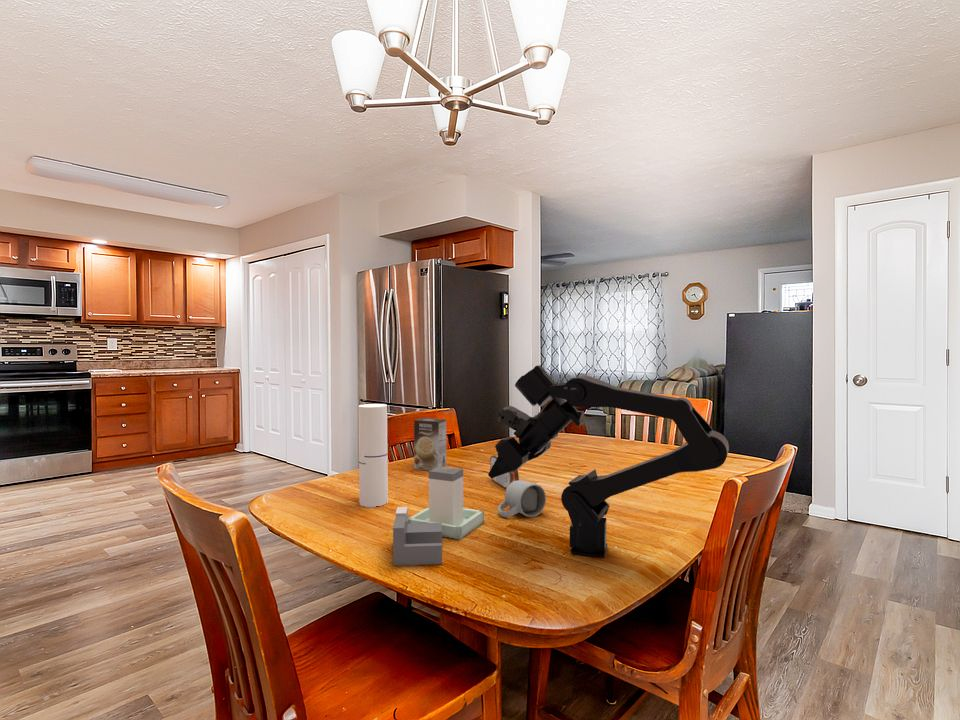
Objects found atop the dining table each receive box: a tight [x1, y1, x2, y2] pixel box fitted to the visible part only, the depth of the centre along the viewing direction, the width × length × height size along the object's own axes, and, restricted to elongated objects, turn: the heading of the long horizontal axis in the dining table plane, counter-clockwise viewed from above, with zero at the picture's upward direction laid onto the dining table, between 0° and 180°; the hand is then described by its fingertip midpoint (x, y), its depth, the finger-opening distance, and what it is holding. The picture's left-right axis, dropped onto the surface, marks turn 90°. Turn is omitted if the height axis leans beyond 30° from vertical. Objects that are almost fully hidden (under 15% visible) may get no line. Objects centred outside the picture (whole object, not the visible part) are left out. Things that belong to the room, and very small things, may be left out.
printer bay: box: [392, 506, 443, 567], centre depth 104 cm, size 9×12×7 cm
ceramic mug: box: [497, 479, 547, 518], centre depth 128 cm, size 11×8×8 cm
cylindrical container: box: [357, 403, 389, 508], centre depth 136 cm, size 7×7×25 cm
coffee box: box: [413, 417, 447, 472], centre depth 172 cm, size 9×6×16 cm
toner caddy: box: [428, 466, 464, 526], centre depth 119 cm, size 6×5×12 cm
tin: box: [489, 453, 520, 490], centre depth 152 cm, size 15×3×8 cm, turn 22°
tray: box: [408, 506, 485, 541], centre depth 119 cm, size 13×12×2 cm
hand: (498, 471), depth 113 cm, fingers open, 9 cm apart
